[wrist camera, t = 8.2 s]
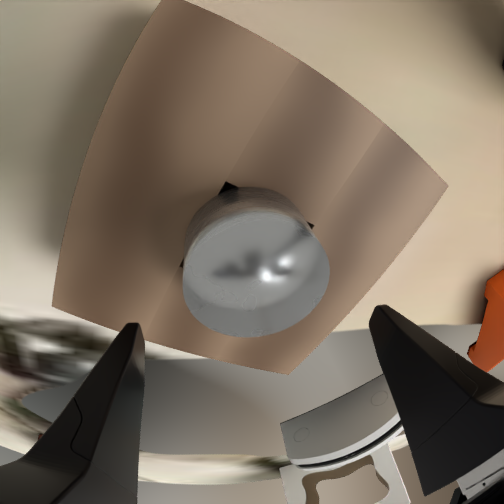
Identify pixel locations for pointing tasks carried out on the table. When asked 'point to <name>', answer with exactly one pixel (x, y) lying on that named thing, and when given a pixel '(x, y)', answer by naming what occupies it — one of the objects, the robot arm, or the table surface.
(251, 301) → the steel peg
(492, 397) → the robot arm
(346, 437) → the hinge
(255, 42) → the walnut block
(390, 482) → the gable box
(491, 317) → the tape dispenser
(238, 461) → the table surface
